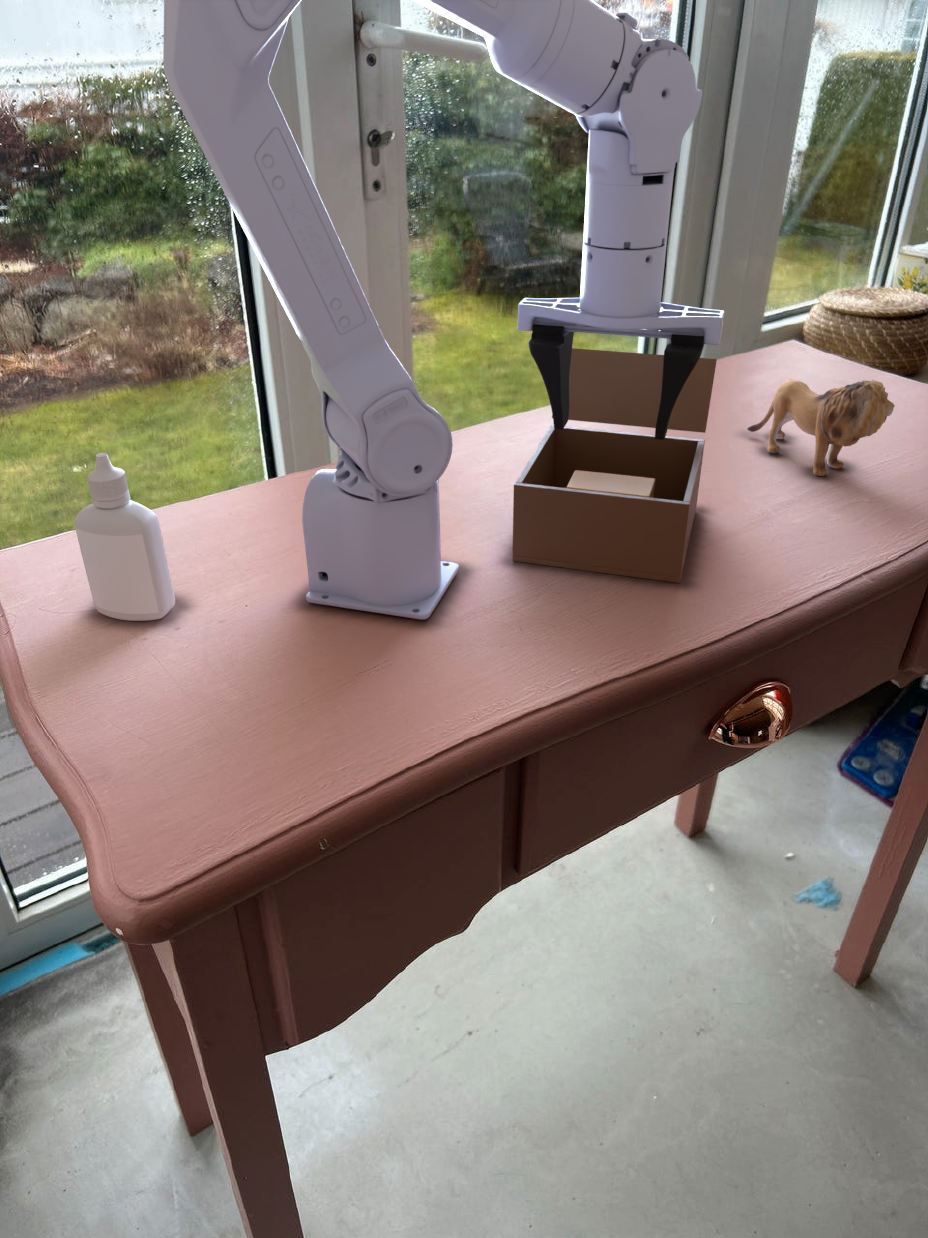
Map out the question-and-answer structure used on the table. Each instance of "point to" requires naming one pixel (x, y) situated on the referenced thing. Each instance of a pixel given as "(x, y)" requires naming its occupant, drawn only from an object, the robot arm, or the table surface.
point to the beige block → (612, 483)
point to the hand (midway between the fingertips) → (610, 429)
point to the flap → (635, 390)
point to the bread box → (608, 504)
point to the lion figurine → (828, 416)
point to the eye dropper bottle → (122, 550)
